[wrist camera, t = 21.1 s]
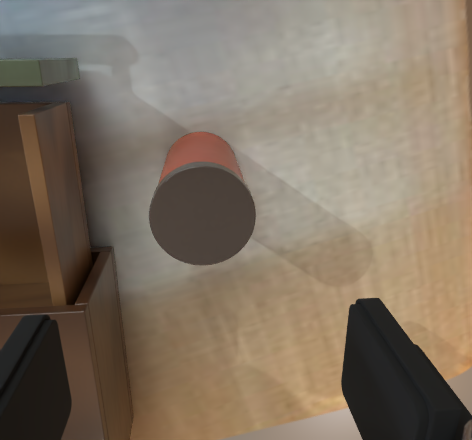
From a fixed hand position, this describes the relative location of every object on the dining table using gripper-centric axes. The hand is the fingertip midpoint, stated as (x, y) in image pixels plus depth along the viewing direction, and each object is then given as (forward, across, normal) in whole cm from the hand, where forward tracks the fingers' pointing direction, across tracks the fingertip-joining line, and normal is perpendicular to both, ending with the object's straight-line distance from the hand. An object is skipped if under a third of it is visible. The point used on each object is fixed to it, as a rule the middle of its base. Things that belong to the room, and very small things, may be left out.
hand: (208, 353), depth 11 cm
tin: (+20, 0, 0) cm, 20 cm away
